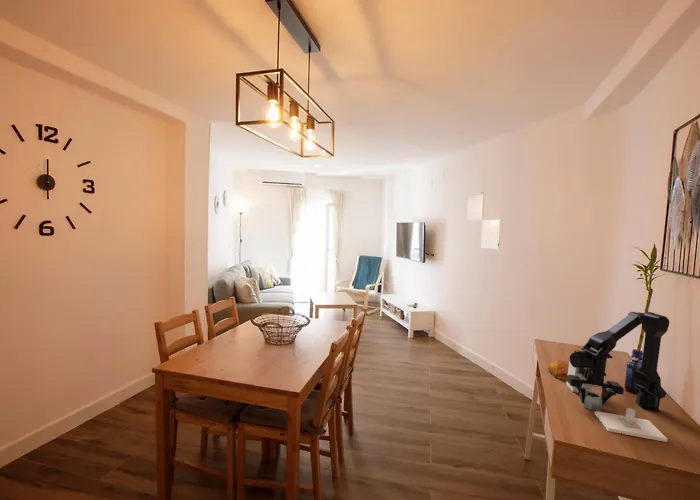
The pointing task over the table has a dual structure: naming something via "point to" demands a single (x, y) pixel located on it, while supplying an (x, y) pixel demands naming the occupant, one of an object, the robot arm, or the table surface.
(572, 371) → the supplement box
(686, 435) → the table surface
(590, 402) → the tube
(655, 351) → the robot arm
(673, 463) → the table surface
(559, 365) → the croissant
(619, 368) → the table surface
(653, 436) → the shaft stand
